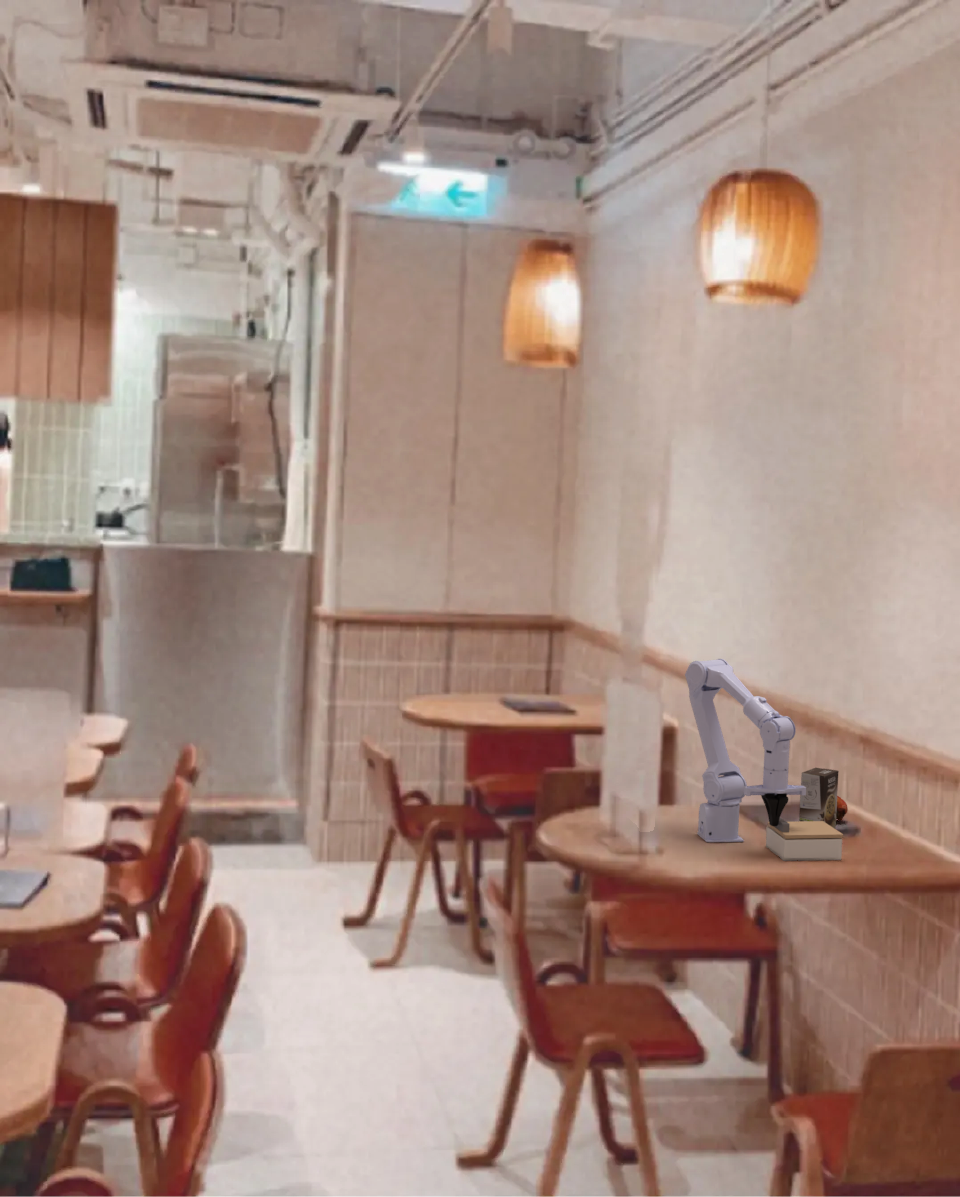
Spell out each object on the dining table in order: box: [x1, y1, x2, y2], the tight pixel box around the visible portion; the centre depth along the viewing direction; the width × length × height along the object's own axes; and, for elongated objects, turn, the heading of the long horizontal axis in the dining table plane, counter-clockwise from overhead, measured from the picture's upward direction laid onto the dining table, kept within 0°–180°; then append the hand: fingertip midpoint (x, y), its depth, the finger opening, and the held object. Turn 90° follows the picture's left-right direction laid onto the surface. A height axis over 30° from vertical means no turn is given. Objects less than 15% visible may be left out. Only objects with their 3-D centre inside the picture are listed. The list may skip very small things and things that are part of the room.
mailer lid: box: [766, 817, 844, 839], centre depth 324 cm, size 14×12×3 cm
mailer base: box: [765, 825, 843, 862], centre depth 324 cm, size 14×12×5 cm
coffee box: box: [798, 767, 839, 830], centre depth 341 cm, size 9×6×16 cm
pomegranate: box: [836, 795, 848, 821], centre depth 355 cm, size 7×7×10 cm
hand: (773, 825), depth 323 cm, fingers closed
